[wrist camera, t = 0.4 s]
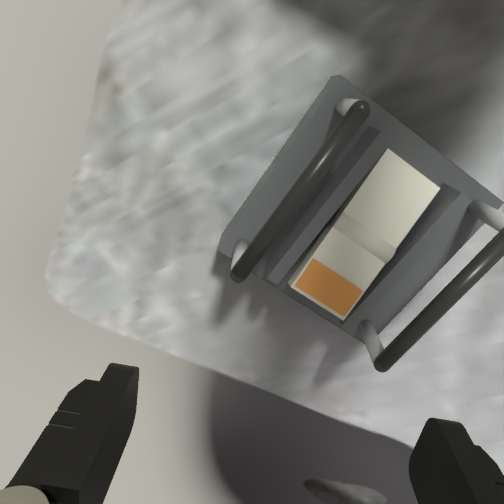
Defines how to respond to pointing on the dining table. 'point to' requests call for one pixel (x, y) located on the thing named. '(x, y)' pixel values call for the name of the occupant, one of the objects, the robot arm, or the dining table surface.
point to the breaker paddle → (363, 234)
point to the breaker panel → (333, 196)
